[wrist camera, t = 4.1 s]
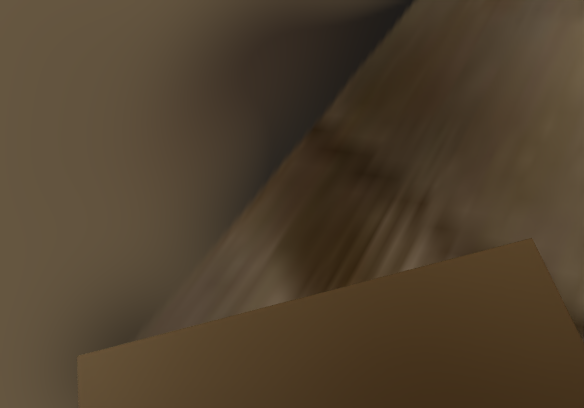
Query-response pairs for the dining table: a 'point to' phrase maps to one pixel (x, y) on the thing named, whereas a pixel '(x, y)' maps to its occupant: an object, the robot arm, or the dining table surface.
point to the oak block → (367, 347)
